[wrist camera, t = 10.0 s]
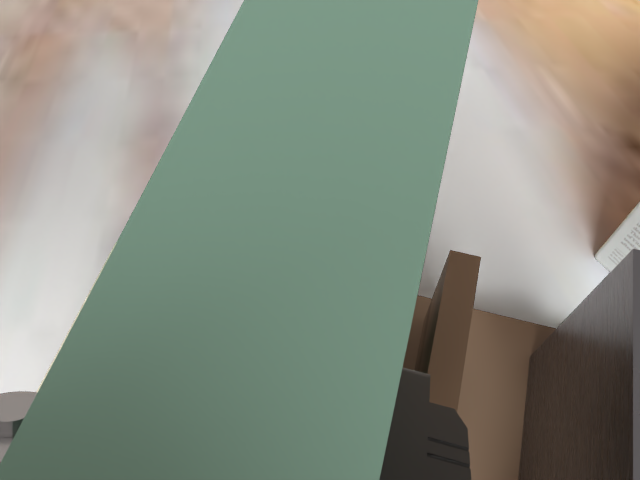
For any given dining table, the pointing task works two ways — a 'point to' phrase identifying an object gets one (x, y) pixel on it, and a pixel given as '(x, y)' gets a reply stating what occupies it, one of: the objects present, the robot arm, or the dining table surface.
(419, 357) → the book rack
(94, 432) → the book
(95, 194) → the dining table surface
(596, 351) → the bookend
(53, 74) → the dining table surface
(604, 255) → the small box
